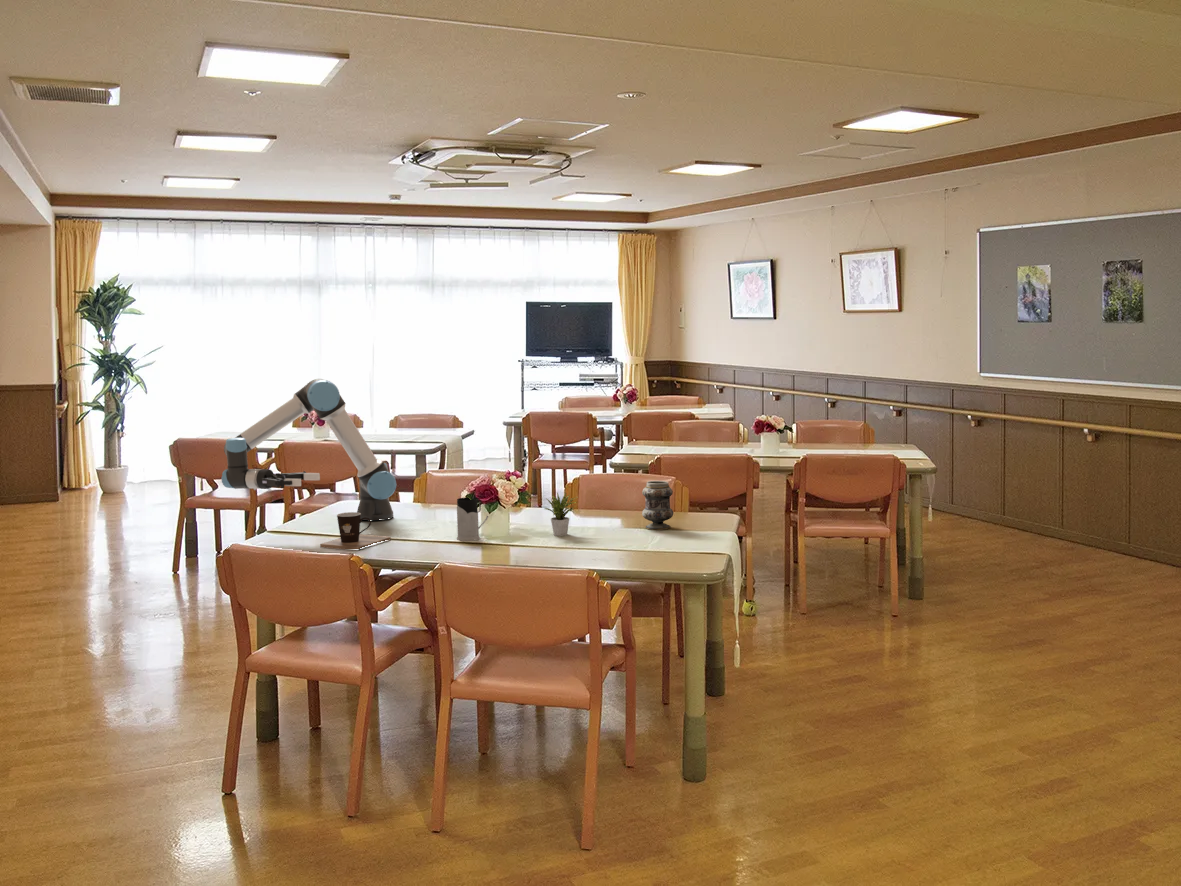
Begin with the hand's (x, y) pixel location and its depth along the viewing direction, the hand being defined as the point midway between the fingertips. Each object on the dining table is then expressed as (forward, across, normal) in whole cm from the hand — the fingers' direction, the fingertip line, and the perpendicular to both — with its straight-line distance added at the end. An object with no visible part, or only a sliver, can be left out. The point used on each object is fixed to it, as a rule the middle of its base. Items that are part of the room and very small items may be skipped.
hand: (310, 479), depth 418 cm
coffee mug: (+20, +7, -22) cm, 31 cm away
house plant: (+91, -24, -24) cm, 97 cm away
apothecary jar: (+123, -46, -25) cm, 134 cm away
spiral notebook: (+20, +5, -23) cm, 31 cm away
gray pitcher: (+60, -14, -24) cm, 66 cm away
